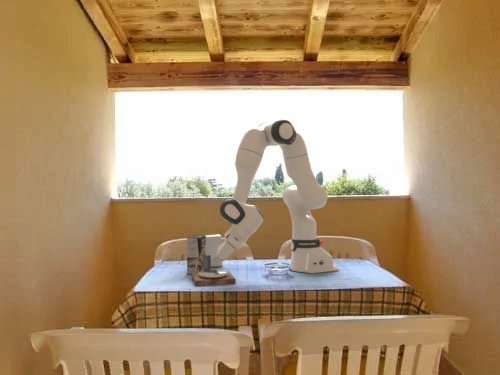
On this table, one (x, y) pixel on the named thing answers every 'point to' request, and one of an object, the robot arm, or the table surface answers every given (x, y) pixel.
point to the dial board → (213, 280)
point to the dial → (211, 270)
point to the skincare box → (213, 247)
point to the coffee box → (195, 253)
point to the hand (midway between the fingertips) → (211, 263)
